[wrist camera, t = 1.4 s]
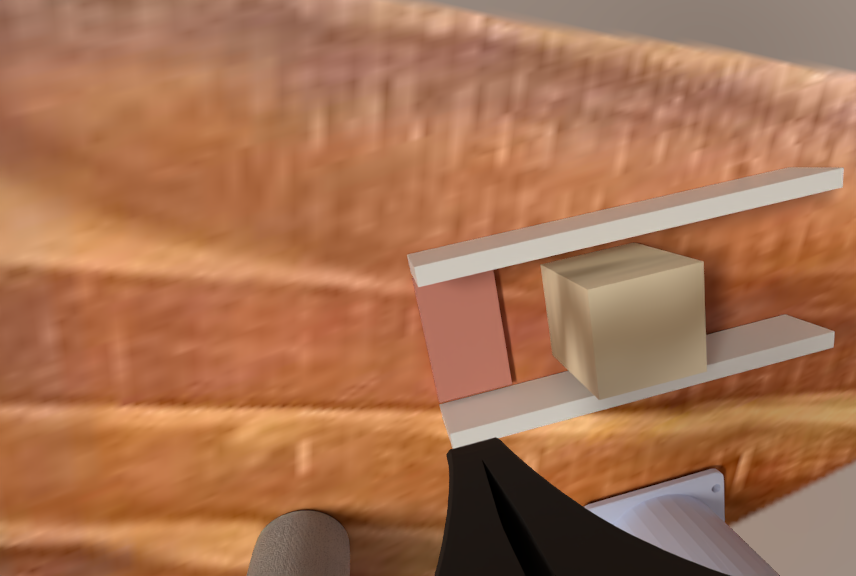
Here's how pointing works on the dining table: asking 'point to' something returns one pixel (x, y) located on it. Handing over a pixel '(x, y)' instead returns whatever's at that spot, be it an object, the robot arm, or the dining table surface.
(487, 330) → the pad
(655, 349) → the block
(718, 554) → the robot arm
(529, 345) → the dining table surface
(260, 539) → the grey hollow tube
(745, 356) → the channel
